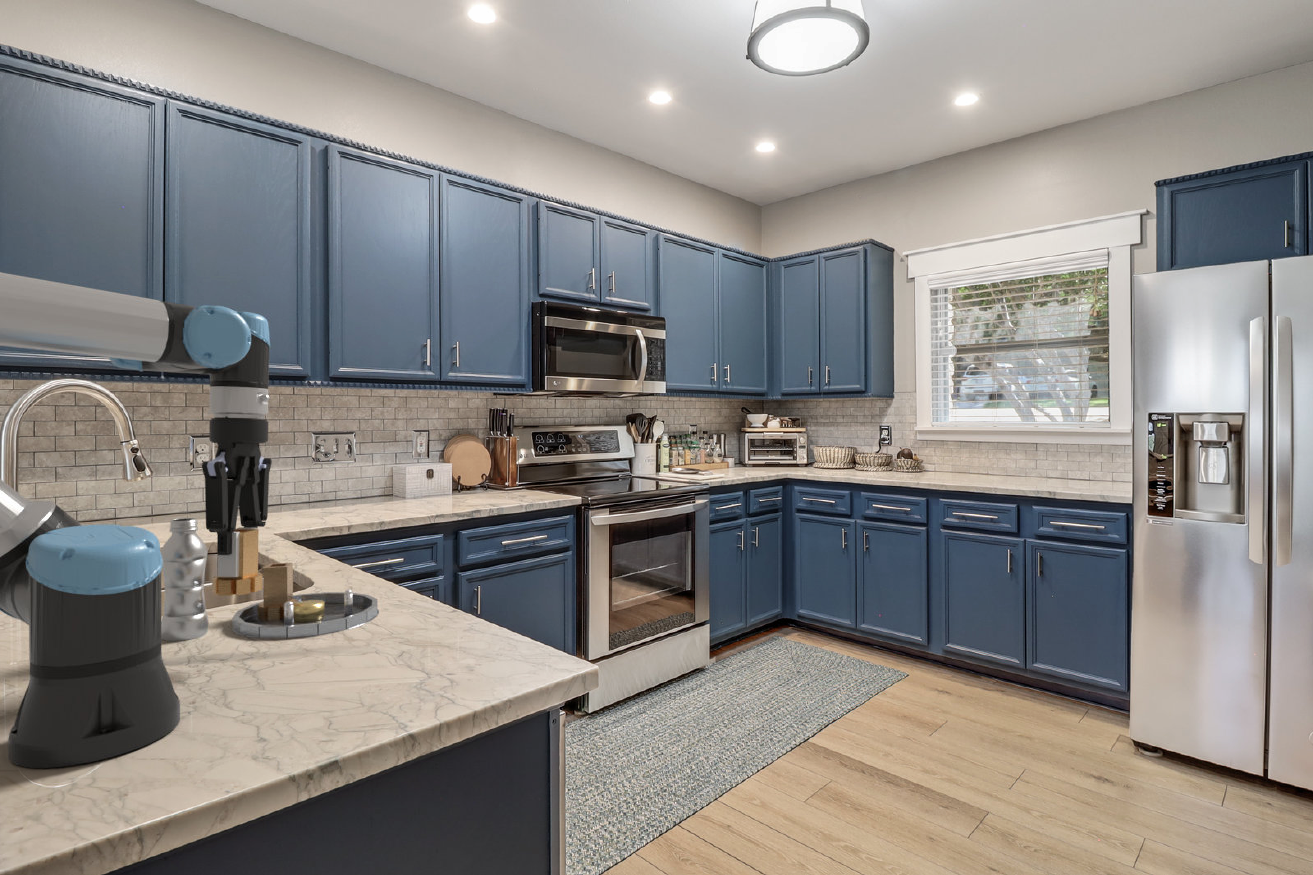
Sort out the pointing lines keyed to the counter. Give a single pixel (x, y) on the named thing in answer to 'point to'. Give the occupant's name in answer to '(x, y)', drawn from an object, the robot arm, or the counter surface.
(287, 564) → the tan square tube
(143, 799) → the counter surface
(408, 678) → the counter surface
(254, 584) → the hollow wooden square post
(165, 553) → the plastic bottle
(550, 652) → the counter surface
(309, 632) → the bowl
